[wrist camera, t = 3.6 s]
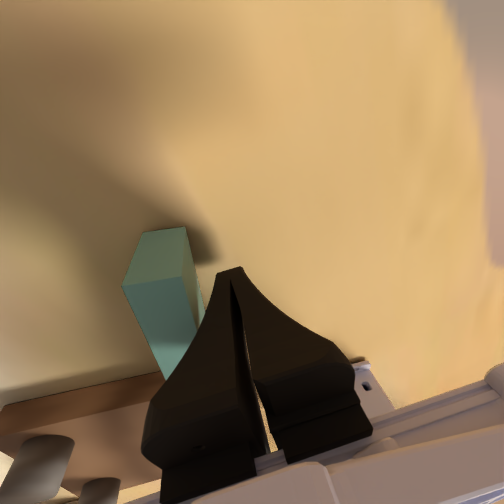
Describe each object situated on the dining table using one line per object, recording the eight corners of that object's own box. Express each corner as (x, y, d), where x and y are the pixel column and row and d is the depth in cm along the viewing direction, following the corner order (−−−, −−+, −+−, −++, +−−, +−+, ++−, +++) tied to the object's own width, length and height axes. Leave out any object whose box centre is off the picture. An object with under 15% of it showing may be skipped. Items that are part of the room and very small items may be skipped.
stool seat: (210, 360, 18) (214, 427, 14) (229, 435, 26) (235, 491, 22) (4, 405, 16) (-54, 497, 12) (92, 472, 24) (72, 541, 20)
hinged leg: (219, 358, 18) (225, 424, 14) (186, 365, 17) (184, 434, 14) (189, 224, 12) (187, 280, 8) (138, 232, 11) (112, 293, 8)
